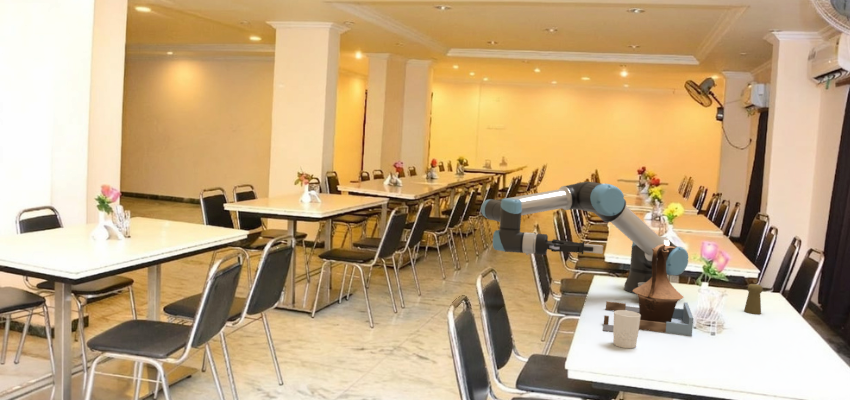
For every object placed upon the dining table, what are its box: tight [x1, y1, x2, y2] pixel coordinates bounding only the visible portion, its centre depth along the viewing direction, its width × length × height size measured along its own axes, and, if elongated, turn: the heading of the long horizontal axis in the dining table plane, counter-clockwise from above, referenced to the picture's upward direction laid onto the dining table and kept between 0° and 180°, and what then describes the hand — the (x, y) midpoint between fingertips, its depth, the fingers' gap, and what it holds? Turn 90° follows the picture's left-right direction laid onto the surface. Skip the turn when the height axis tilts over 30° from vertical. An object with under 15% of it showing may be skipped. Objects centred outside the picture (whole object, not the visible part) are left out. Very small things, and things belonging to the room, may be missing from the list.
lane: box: [603, 300, 666, 334], centre depth 249 cm, size 20×24×3 cm
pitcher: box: [633, 244, 685, 323], centre depth 247 cm, size 18×17×28 cm
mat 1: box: [602, 323, 614, 333], centre depth 235 cm, size 10×8×1 cm
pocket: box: [665, 301, 694, 337], centre depth 246 cm, size 8×24×6 cm, turn 164°
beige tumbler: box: [612, 310, 641, 349], centre depth 217 cm, size 8×8×10 cm
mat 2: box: [625, 305, 639, 313], centre depth 265 cm, size 10×8×1 cm
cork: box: [743, 283, 763, 315], centre depth 274 cm, size 6×6×11 cm
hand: (602, 249), depth 250 cm, fingers closed
